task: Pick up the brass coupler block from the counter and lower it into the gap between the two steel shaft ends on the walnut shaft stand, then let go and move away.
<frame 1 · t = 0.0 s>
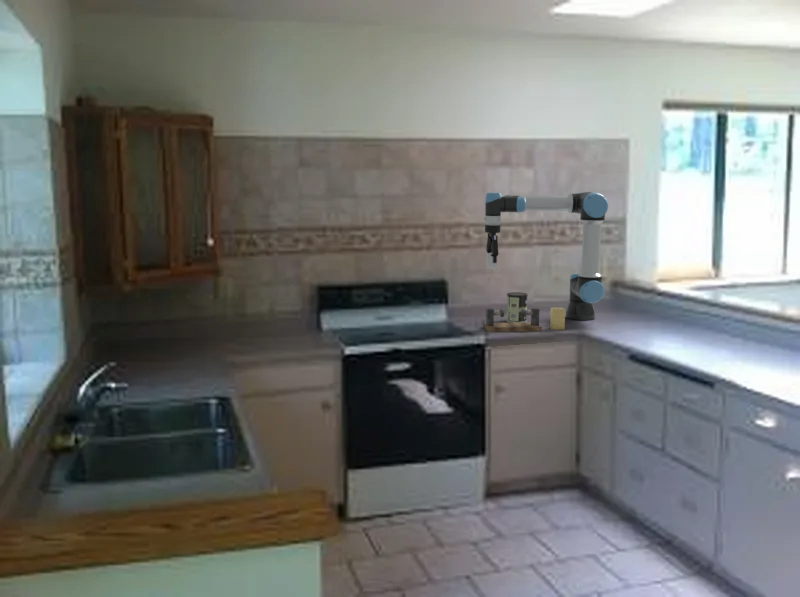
hand: (491, 267, 394), 28 cm above the table, fingers open, 13 cm apart
coupler: (557, 328, 387), on the table
shaft stand: (512, 329, 385), on the table
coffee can: (516, 321, 404), on the table
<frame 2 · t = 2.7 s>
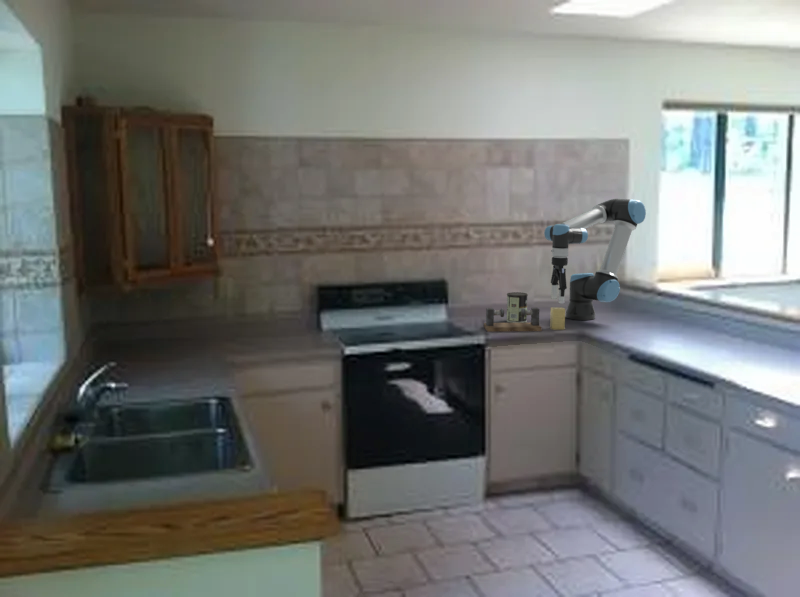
hand: (557, 300, 384), 14 cm above the table, fingers open, 13 cm apart
nothing on the table moved.
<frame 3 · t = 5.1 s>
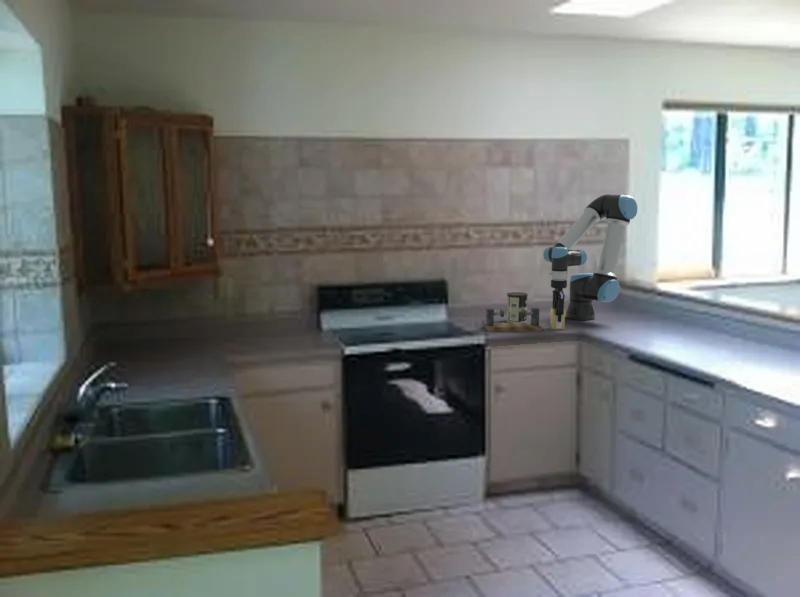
hand: (557, 327, 387), 1 cm above the table, fingers closed on coupler, 4 cm apart
coupler: (557, 328, 387), on the table, touching gripper
everything else where it was.
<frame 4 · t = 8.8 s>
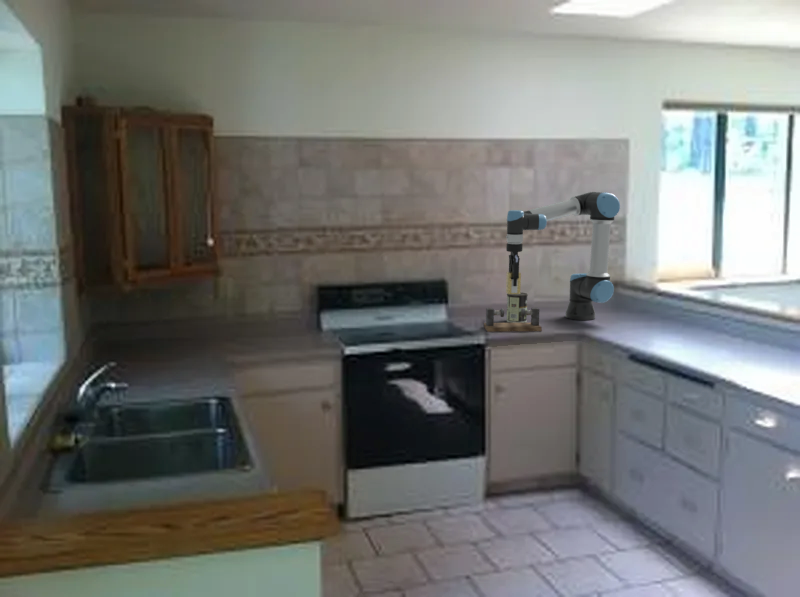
hand: (513, 291, 382), 18 cm above the table, fingers closed on coupler, 4 cm apart
coupler: (513, 293, 382), point 17 cm above the table, touching gripper
everything else where it was.
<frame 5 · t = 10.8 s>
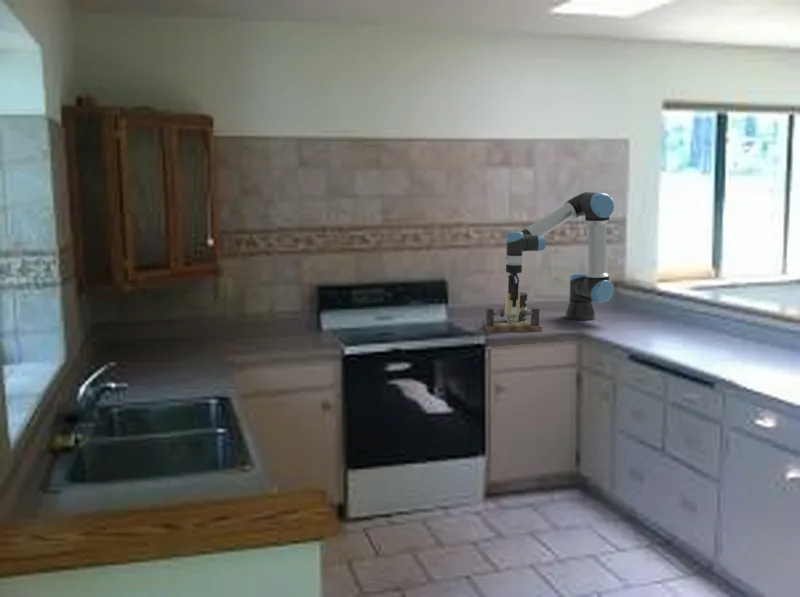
hand: (512, 312, 384), 8 cm above the table, fingers closed on coupler, 4 cm apart
coupler: (512, 313, 384), point 7 cm above the table, touching gripper
everything else where it was.
when the fingers open (4 cm above the table, at t = 12.5 s): coupler drops 1 cm, resting on shaft stand.
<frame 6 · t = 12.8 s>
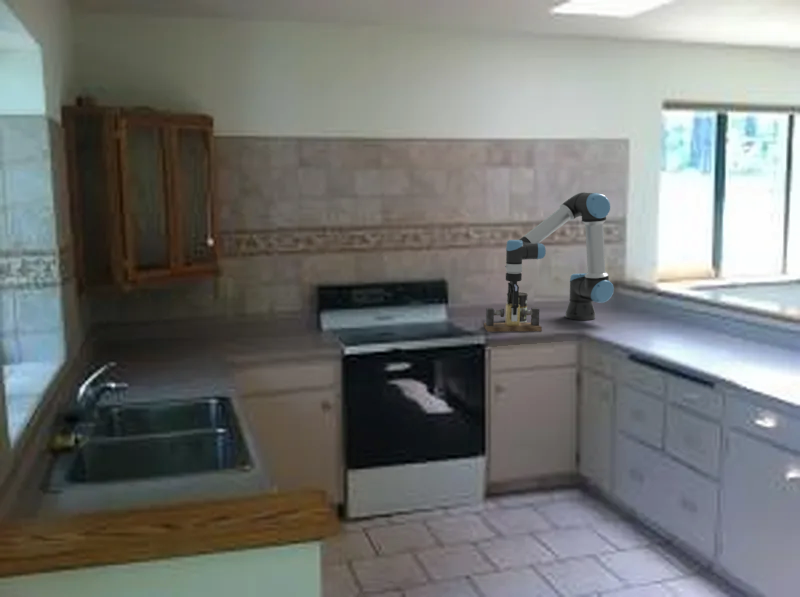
hand: (512, 319, 385), 5 cm above the table, fingers open, 8 cm apart
coupler: (512, 324, 385), point 2 cm above the table, touching shaft stand
everything else where it was.
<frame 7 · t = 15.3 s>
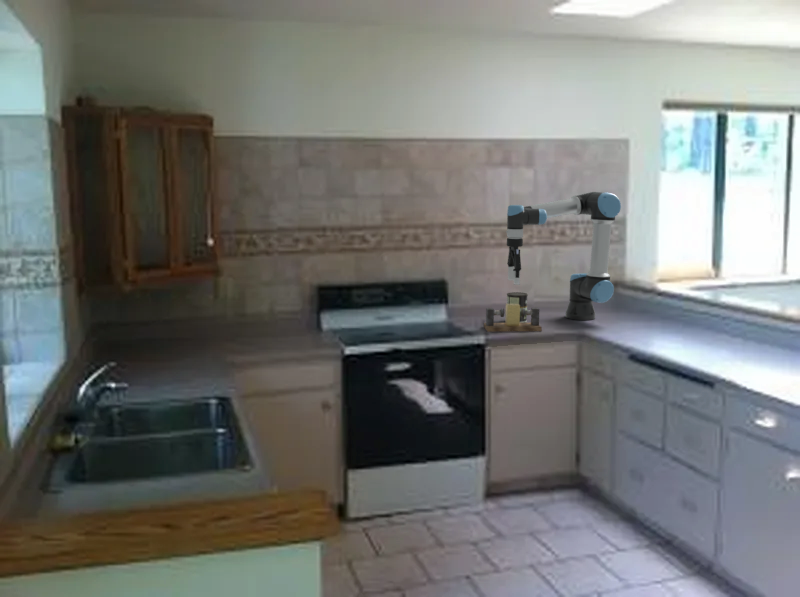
hand: (513, 282, 382), 23 cm above the table, fingers open, 13 cm apart
nothing on the table moved.
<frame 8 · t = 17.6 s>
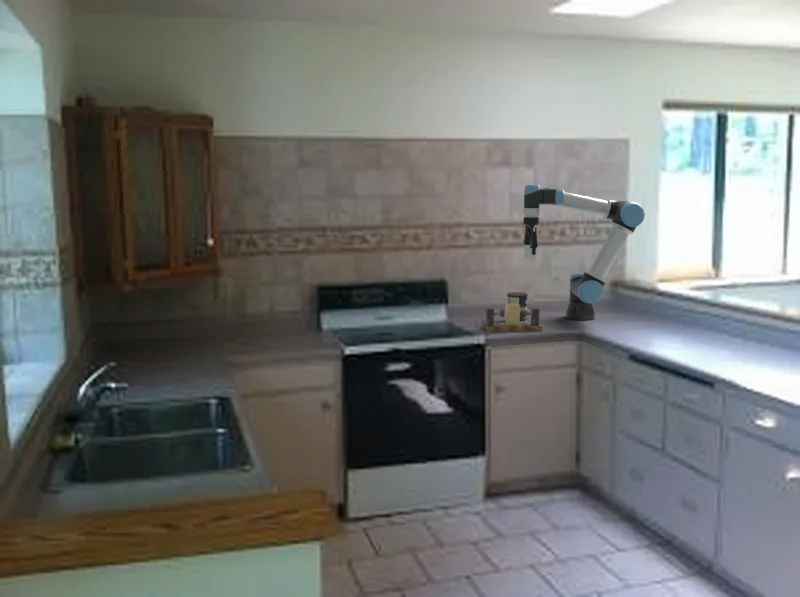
hand: (529, 259, 395), 32 cm above the table, fingers open, 13 cm apart
nothing on the table moved.
at the end: coupler 0.0 cm off-centre on the shaft stand, point 2.0 cm above the shaft stand's base; coupler tilted 0°; the gripper is holding nothing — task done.
